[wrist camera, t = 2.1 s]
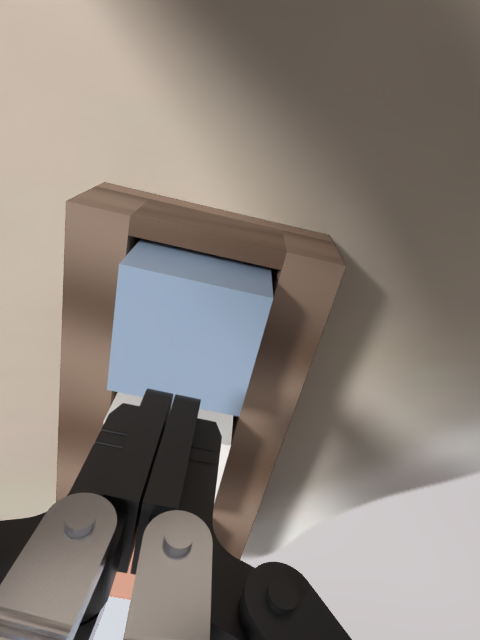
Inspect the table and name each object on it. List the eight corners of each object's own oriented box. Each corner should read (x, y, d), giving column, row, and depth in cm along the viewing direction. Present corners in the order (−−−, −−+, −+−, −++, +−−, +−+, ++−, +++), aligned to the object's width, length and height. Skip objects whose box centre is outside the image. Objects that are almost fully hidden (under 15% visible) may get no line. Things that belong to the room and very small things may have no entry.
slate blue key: (142, 237, 16) (119, 263, 13) (270, 266, 16) (273, 298, 13) (128, 348, 18) (107, 389, 15) (241, 371, 18) (239, 416, 16)
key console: (104, 182, 18) (66, 200, 14) (329, 235, 19) (346, 266, 15) (81, 498, 27) (54, 558, 23) (233, 526, 28) (229, 588, 24)
